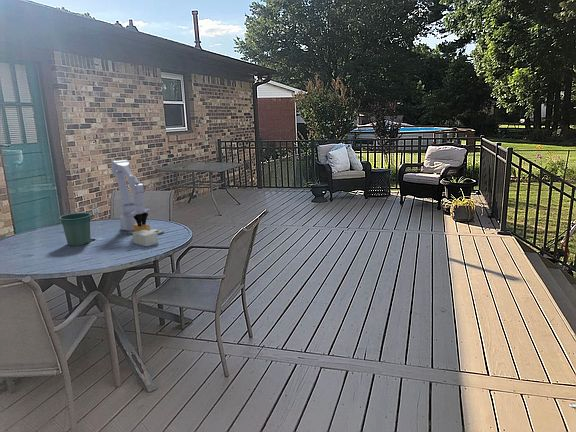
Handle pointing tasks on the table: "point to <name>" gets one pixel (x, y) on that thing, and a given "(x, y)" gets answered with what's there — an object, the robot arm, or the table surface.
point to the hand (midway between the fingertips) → (141, 225)
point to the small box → (145, 237)
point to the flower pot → (76, 228)
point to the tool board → (156, 232)
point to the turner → (143, 228)
